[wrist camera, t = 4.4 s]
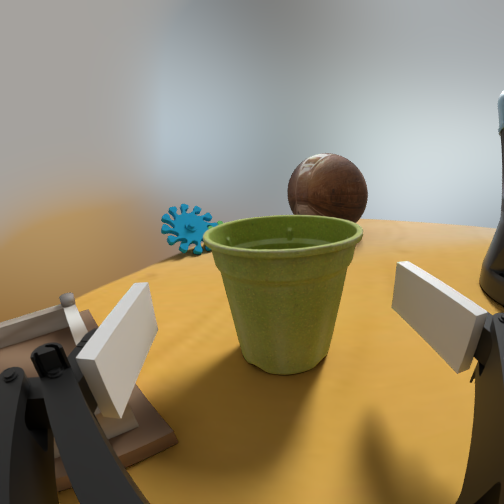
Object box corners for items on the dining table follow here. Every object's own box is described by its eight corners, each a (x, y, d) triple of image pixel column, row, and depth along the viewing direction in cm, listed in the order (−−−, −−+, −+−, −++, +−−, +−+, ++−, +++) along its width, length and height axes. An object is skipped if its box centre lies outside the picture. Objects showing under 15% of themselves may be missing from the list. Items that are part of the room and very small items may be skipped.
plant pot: (373, 379, 15) (393, 240, 13) (216, 401, 15) (193, 255, 12) (329, 312, 24) (331, 212, 22) (220, 323, 24) (208, 220, 21)
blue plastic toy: (169, 252, 41) (157, 201, 45) (161, 272, 45) (150, 224, 49) (235, 247, 47) (216, 201, 51) (222, 266, 51) (206, 222, 55)
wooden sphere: (274, 237, 52) (269, 153, 48) (309, 223, 64) (307, 156, 59) (354, 246, 43) (353, 150, 39) (374, 229, 55) (374, 155, 51)
